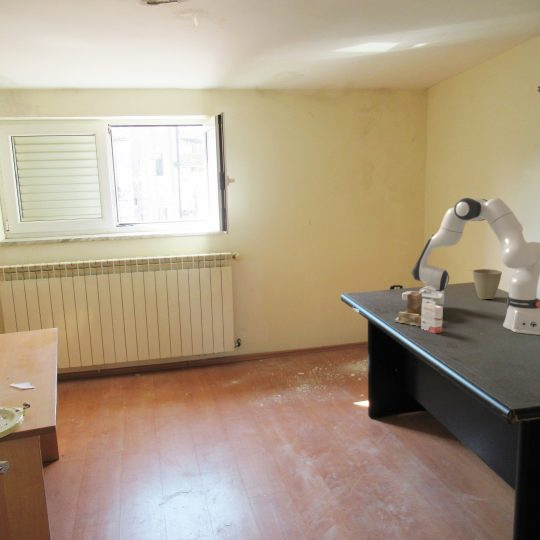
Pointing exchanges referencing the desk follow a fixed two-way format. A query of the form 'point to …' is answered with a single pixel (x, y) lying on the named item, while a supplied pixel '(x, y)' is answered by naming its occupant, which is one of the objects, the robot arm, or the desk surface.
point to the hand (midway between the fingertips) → (417, 301)
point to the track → (409, 318)
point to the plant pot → (486, 282)
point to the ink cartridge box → (431, 316)
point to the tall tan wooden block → (414, 303)
